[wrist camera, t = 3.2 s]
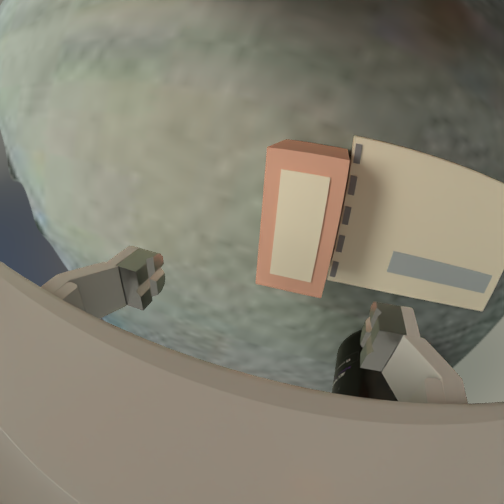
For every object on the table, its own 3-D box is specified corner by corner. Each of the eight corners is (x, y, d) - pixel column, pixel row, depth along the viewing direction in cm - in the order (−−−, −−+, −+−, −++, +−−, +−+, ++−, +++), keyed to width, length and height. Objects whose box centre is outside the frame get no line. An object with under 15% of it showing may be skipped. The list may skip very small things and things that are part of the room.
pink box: (347, 149, 16) (349, 160, 12) (327, 258, 20) (320, 299, 16) (286, 139, 17) (266, 147, 13) (274, 246, 21) (255, 284, 17)
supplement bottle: (327, 334, 24) (302, 458, 13) (401, 315, 20) (412, 447, 10) (347, 378, 25) (330, 483, 15) (410, 364, 22) (414, 475, 12)
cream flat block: (519, 190, 12) (529, 196, 11) (477, 300, 17) (482, 312, 16) (354, 135, 16) (355, 136, 14) (328, 269, 21) (327, 280, 19)
